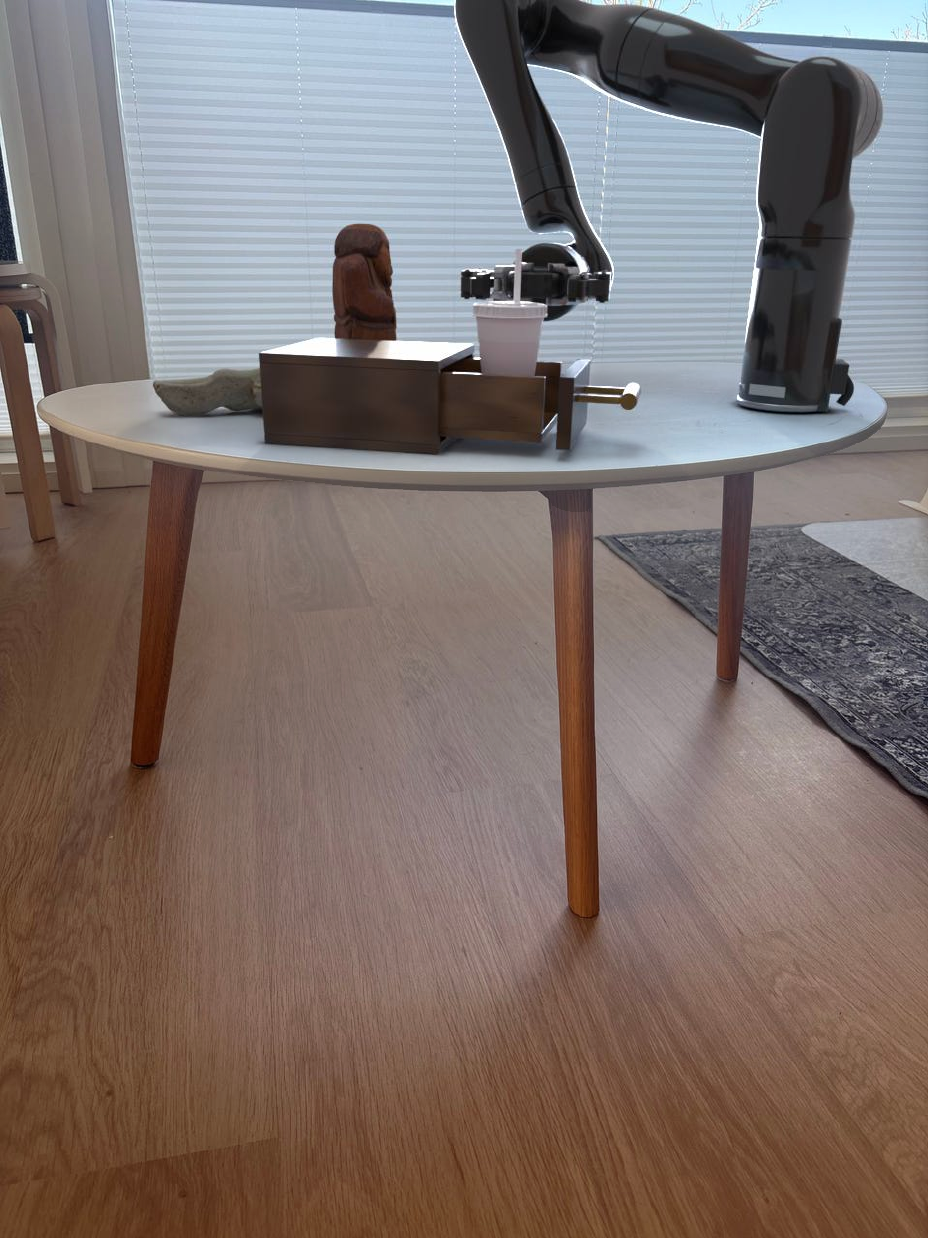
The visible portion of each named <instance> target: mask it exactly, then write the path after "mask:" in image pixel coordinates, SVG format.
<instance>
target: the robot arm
mask: <svg viewBox="0 0 928 1238" xmlns="http://www.w3.org/2000/svg"><path fill="white" fill-rule="evenodd" d="M454 17H455V23H456V27H457V30H458V32H459V36H460V39H461V40H462V41H461V42H462V43H463V46H464V48H465V51H466V52H467V55H468V57H469V59H470V61H471V64H472V66H473V68H474V71H475V74H476V75H477V78H478V81H479V83H480V86H481V88H482V90H483V93H484V95H485V98H486V100H487V102H488V104H489V108H490V111H491V113H492V116H493V118H494V121H495V123H496V126H497V129H498V131H499V134H500V138H501V140H502V143H503V146H504V150H505V152H506V155H507V158H508V162H509V167H510V169H511V174H512V178H513V181H514V184H515V190H516V193H517V198H518V201H519V205H520V208H521V209H520V210H521V212H522V216H523V220H524V223H525V226H526V228H527V229H528V230H529V231H530V232H531V233H533V234H536V235H542V234H545V235H546V234H553V233H567V234H569V235H571V236H572V237H573V241H572V242H570V243H566V244H563V243H560V242H559V243H558V242H541V243H537V244H534V245H531V246H529V247H527V248H526V249H524V250H522V262H521V290H520V301H524V302H535V303H542V304H546V305H547V317H545V318H544V319H543V322H551V321H552V322H553V321H555V320H557V319H560V318H562V317H563V316H565V315H568V314H569V313H571V312H572V311H574V309H576V308H577V306H578V305H580V304H584V303H587V302H589V301H592V300H595V302H599V304H605V303H606V302H609V300H610V296H611V287H612V285H613V281H614V266H613V262H612V260H611V257H610V255H609V253H608V252H607V250H606V248H605V247H604V244H603V243H602V242H601V240H600V238H599V237H598V235H597V233H596V232H595V230H594V228H593V226H592V223H590V221H589V218H588V216H587V214H586V212H585V208H584V206H583V203H582V200H581V199H580V194H579V190H578V186H577V182H576V179H575V174H574V169H573V166H572V162H571V159H570V156H569V152H568V149H567V146H566V144H565V141H564V139H563V136H562V135H561V132H560V130H559V129H558V126H557V124H556V122H555V121H554V119H553V118H552V115H551V114H550V112H549V109H548V108H547V106H546V104H545V102H544V100H543V98H542V96H541V95H540V93H539V90H538V89H537V86H536V84H535V82H534V79H533V77H532V74H531V71H530V69H529V68H530V67H529V66H531V67H539V68H544V69H548V70H554V71H557V72H562V73H566V74H569V75H572V76H574V77H576V78H578V79H580V80H581V81H583V82H584V83H586V84H587V85H589V86H590V87H592V88H593V89H595V90H597V91H599V92H601V93H602V94H604V95H606V96H608V97H611V98H613V99H615V100H618V101H620V102H623V103H625V104H628V105H631V106H633V107H637V108H640V109H643V110H645V111H648V112H652V113H655V114H659V115H661V116H667V117H670V118H675V119H679V120H684V121H690V122H694V123H701V124H707V125H713V126H718V127H719V126H720V127H725V128H731V129H735V130H738V131H742V132H745V133H748V134H750V135H753V136H755V137H758V138H760V139H761V140H760V149H759V161H758V171H757V172H758V173H757V184H756V208H757V213H758V217H759V229H758V238H757V244H756V252H755V253H756V254H755V262H754V270H753V278H752V286H751V293H750V300H749V308H748V318H747V325H746V333H745V341H744V349H743V355H742V365H741V372H740V381H739V385H738V394H737V397H736V404H738V405H739V406H741V407H745V408H748V409H753V410H760V411H768V412H779V413H813V412H817V413H818V412H819V413H823V412H824V413H827V412H828V410H829V405H830V400H831V399H830V398H831V395H840V396H839V397H838V398H837V400H836V403H837V404H838V405H841V406H843V407H845V406H846V405H847V404H848V402H849V401H850V400H851V398H852V397H853V396H854V391H855V384H854V382H853V380H852V378H851V377H850V375H849V370H850V364H849V363H848V362H846V361H845V360H844V359H843V358H837V356H838V350H839V344H840V337H841V330H842V324H843V319H842V318H841V317H840V314H841V308H842V302H843V296H844V289H845V285H846V277H847V271H848V265H849V258H850V253H851V246H852V238H853V235H854V234H853V233H854V228H855V220H856V212H855V208H854V205H853V203H852V199H851V198H852V197H851V187H850V186H851V174H852V166H853V160H854V159H856V158H858V157H860V155H862V154H863V153H864V152H866V150H867V149H868V148H869V147H870V146H871V145H872V144H873V143H874V141H875V140H876V138H877V136H878V134H879V132H880V130H881V127H882V124H883V119H884V103H883V99H882V95H881V93H880V90H879V88H878V86H877V84H876V82H875V81H874V80H873V79H872V78H871V76H870V75H869V74H868V73H866V72H865V71H864V70H862V69H861V68H859V67H858V66H854V65H852V64H850V63H848V62H845V61H843V60H841V59H838V58H836V57H831V56H823V55H822V56H821V55H820V56H814V57H808V58H805V59H803V60H795V59H789V58H784V57H780V56H776V55H774V54H770V53H767V52H764V51H762V50H759V49H758V48H755V47H753V46H751V45H749V44H747V43H745V42H743V41H741V40H739V39H737V38H735V37H733V36H731V35H728V34H726V33H724V32H722V31H720V30H717V29H715V28H713V27H711V26H708V25H706V24H704V23H701V22H698V21H697V20H693V19H690V18H687V17H685V16H682V15H678V14H676V13H672V12H668V11H665V10H660V9H657V8H654V7H650V6H646V5H645V6H644V5H639V4H630V3H629V4H627V3H619V4H618V3H617V4H595V3H594V4H593V3H589V2H587V1H583V0H454ZM514 273H515V260H514V261H513V262H512V264H511V265H506V264H505V265H499V264H498V265H495V266H494V268H493V270H488V269H484V267H478V268H476V269H475V268H473V269H470V268H464V269H463V270H460V298H463V299H464V300H470V298H474V299H475V300H481V301H487V300H489V299H492V300H493V301H505V302H506V301H514ZM491 289H492V291H491Z"/></svg>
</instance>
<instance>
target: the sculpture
mask: <svg viewBox="0 0 928 1238" xmlns="http://www.w3.org/2000/svg"><path fill="white" fill-rule="evenodd" d="M152 387H153V390H154V392H155V394H156V395H157V397H159V398H160V401H161V402H162V403H163V404H164V405H165V407H166V408H167V409H168V410H169V411H171V412H173V413H175V414H178V415H180V416H195V415H202V414H206V413H209V412H212V411H214V410H217V409H219V408H225V409H227V410H229V411H232V412H241V411H242V412H243V411H244V412H245V411H248V410H262V395H261V380H260V367H256V368H249V369H233V368H232V369H231V368H220V369H217V370H216V371H214V372H213V373H212V374H210V375H207V376H201V377H194V378H181V379H180V378H179V379H156V380H154V381H153V382H152Z"/></svg>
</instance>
